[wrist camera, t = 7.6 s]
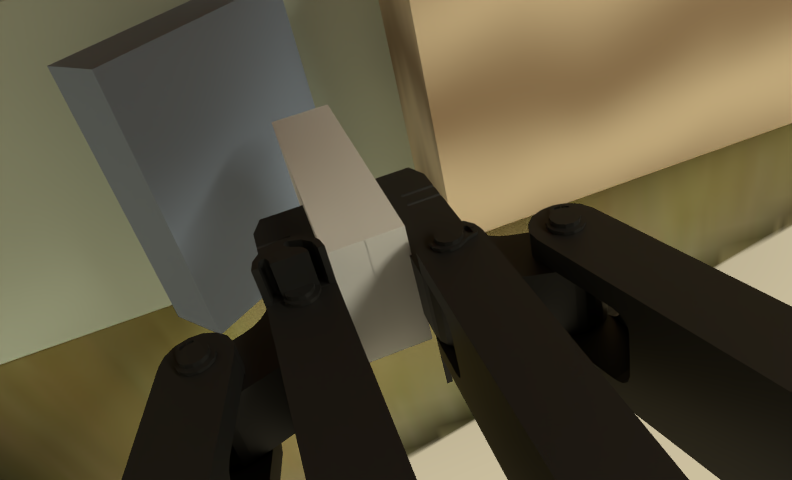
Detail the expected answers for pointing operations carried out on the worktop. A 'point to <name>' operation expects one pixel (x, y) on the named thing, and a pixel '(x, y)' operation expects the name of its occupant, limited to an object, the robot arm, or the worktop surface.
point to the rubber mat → (87, 185)
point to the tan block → (579, 92)
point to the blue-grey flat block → (194, 140)
